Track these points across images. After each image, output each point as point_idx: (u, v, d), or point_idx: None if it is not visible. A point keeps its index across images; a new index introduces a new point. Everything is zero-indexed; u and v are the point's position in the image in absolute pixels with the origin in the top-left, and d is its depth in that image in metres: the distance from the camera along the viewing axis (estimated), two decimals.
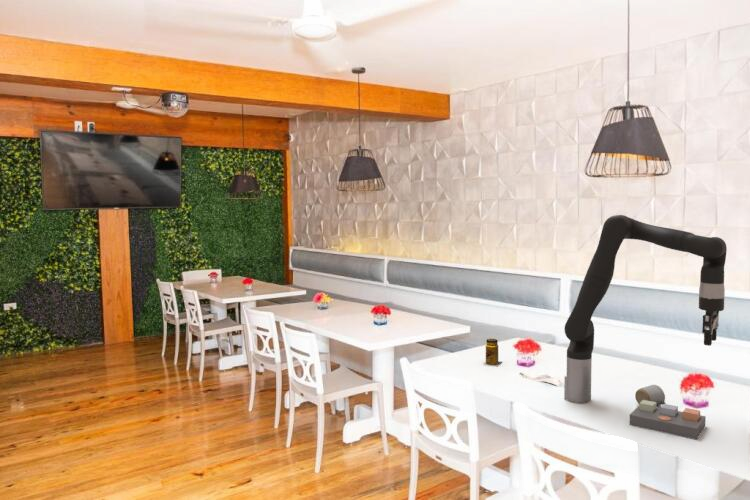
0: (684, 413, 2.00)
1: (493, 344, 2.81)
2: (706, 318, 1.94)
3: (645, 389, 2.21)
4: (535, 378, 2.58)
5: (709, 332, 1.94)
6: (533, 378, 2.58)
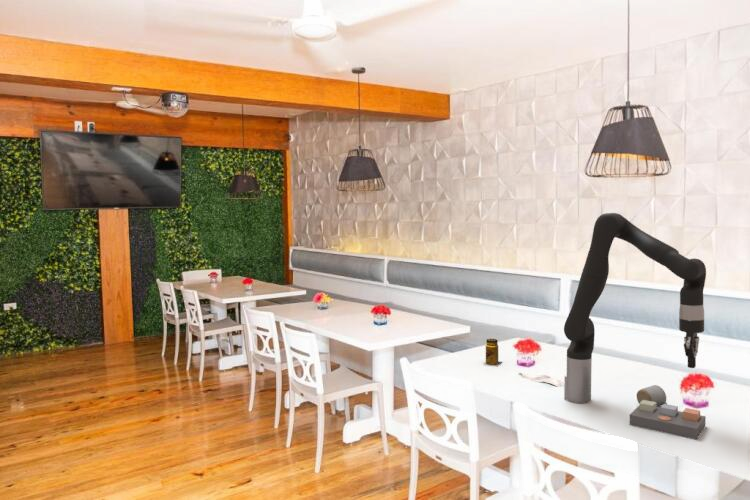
0: (684, 413, 2.00)
1: (493, 344, 2.81)
2: (687, 347, 1.96)
3: (646, 389, 2.20)
4: (534, 378, 2.57)
5: (692, 356, 1.97)
6: (532, 378, 2.57)
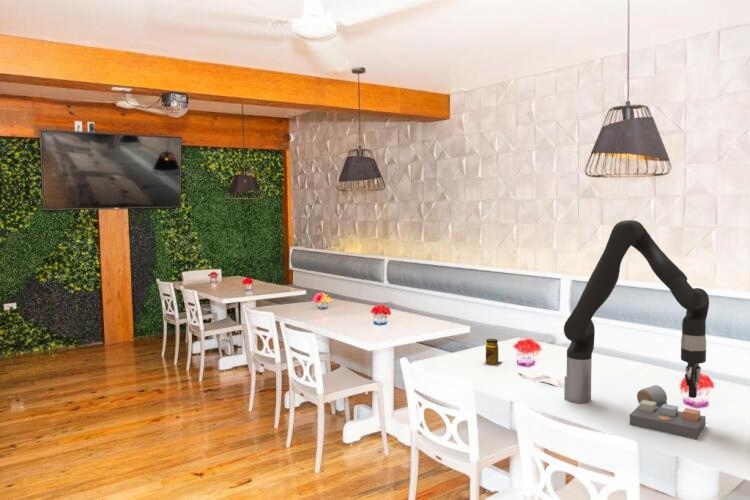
0: (684, 413, 2.00)
1: (493, 344, 2.81)
2: (688, 377, 1.95)
3: (647, 390, 2.20)
4: (534, 378, 2.57)
5: (693, 386, 1.97)
6: (532, 378, 2.57)
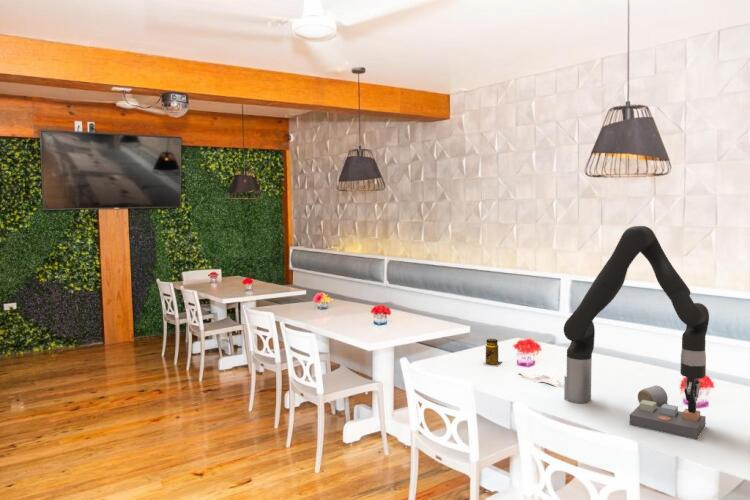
0: (684, 414, 2.00)
1: (493, 344, 2.81)
2: (688, 392, 1.95)
3: (647, 390, 2.20)
4: (534, 378, 2.57)
5: (693, 401, 1.97)
6: (532, 378, 2.57)
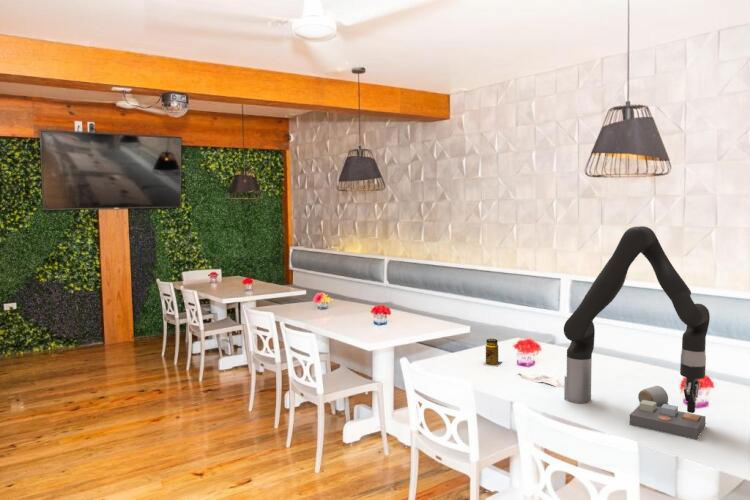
0: (684, 418, 2.00)
1: (493, 344, 2.81)
2: (687, 393, 1.95)
3: (648, 390, 2.20)
4: (533, 379, 2.57)
5: (692, 401, 1.97)
6: (531, 379, 2.57)
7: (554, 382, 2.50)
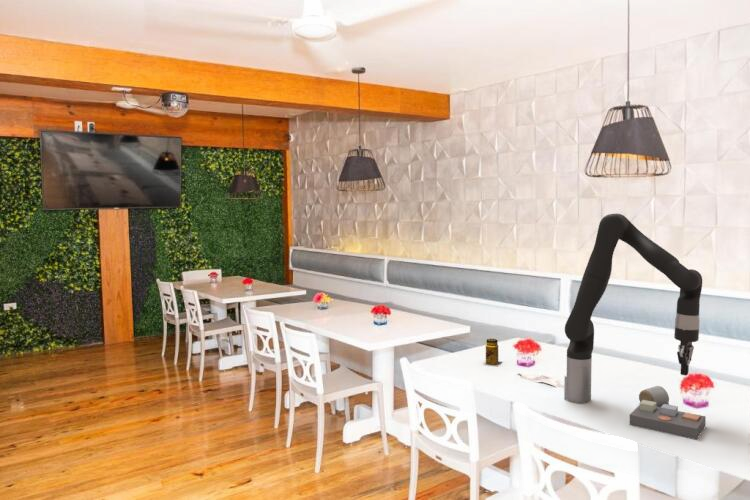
0: (684, 418, 2.00)
1: (493, 344, 2.81)
2: (680, 355, 2.02)
3: (649, 390, 2.19)
4: (533, 379, 2.57)
5: (685, 364, 2.04)
6: (531, 379, 2.57)
7: (554, 382, 2.50)
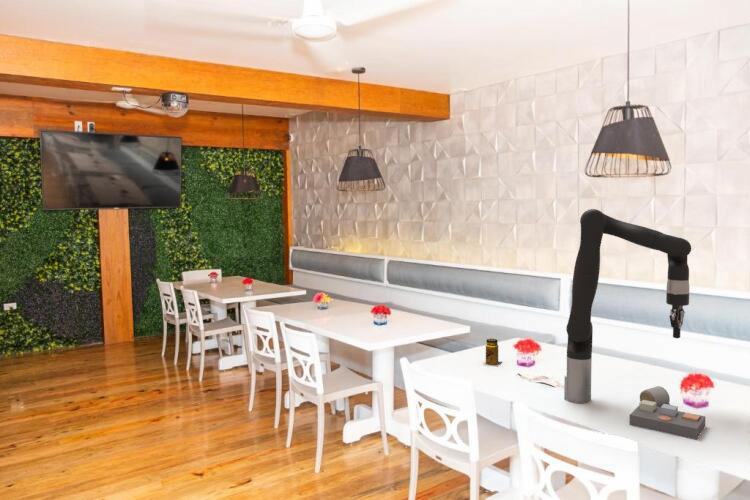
0: (684, 418, 2.00)
1: (493, 344, 2.81)
2: (672, 318, 2.13)
3: (649, 391, 2.19)
4: (533, 379, 2.56)
5: (677, 327, 2.15)
6: (531, 379, 2.56)
7: (553, 382, 2.50)
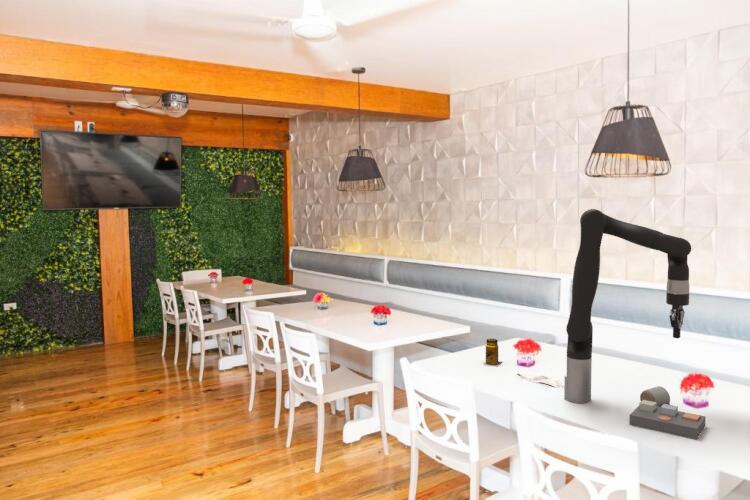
0: (684, 418, 2.00)
1: (493, 344, 2.81)
2: (672, 318, 2.13)
3: (650, 391, 2.19)
4: (532, 379, 2.56)
5: (677, 327, 2.15)
6: (530, 379, 2.56)
7: (553, 382, 2.50)
